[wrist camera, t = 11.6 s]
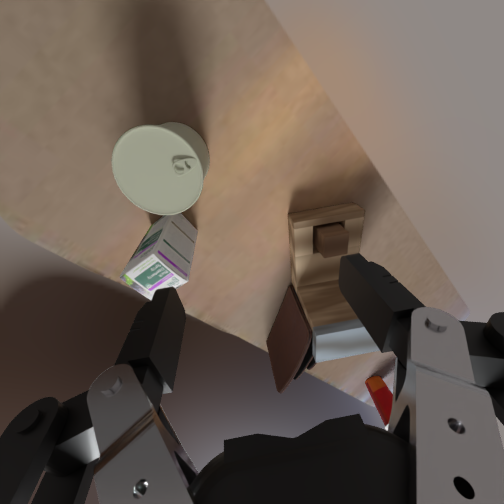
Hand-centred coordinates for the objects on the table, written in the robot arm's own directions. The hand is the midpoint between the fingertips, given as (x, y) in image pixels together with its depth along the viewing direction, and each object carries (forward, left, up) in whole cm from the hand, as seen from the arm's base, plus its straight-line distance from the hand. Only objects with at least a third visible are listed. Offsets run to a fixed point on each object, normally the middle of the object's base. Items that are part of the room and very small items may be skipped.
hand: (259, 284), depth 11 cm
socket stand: (+17, +14, -28) cm, 36 cm away
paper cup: (+75, +34, -28) cm, 87 cm away
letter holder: (+37, +8, -28) cm, 47 cm away
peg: (+13, +14, -28) cm, 34 cm away
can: (-3, -8, -28) cm, 30 cm away
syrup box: (+8, -12, -28) cm, 32 cm away
